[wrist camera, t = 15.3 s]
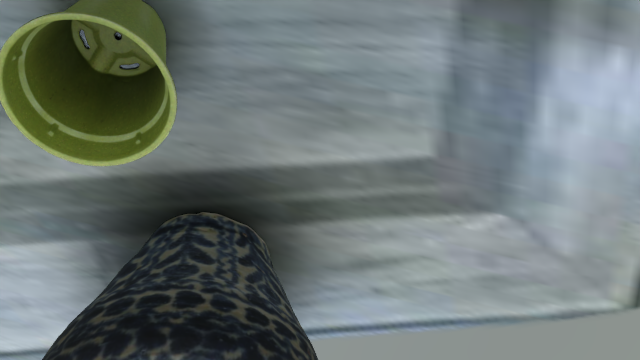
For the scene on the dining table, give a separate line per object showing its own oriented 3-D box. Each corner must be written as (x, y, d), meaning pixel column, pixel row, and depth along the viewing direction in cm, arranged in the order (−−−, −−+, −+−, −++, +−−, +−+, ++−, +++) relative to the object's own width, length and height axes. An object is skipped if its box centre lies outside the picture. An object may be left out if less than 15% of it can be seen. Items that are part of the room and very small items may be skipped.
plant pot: (208, 84, 41) (196, 152, 34) (79, 107, 41) (41, 179, 34) (167, -50, 35) (143, -2, 28) (18, -23, 36) (-41, 31, 29)
